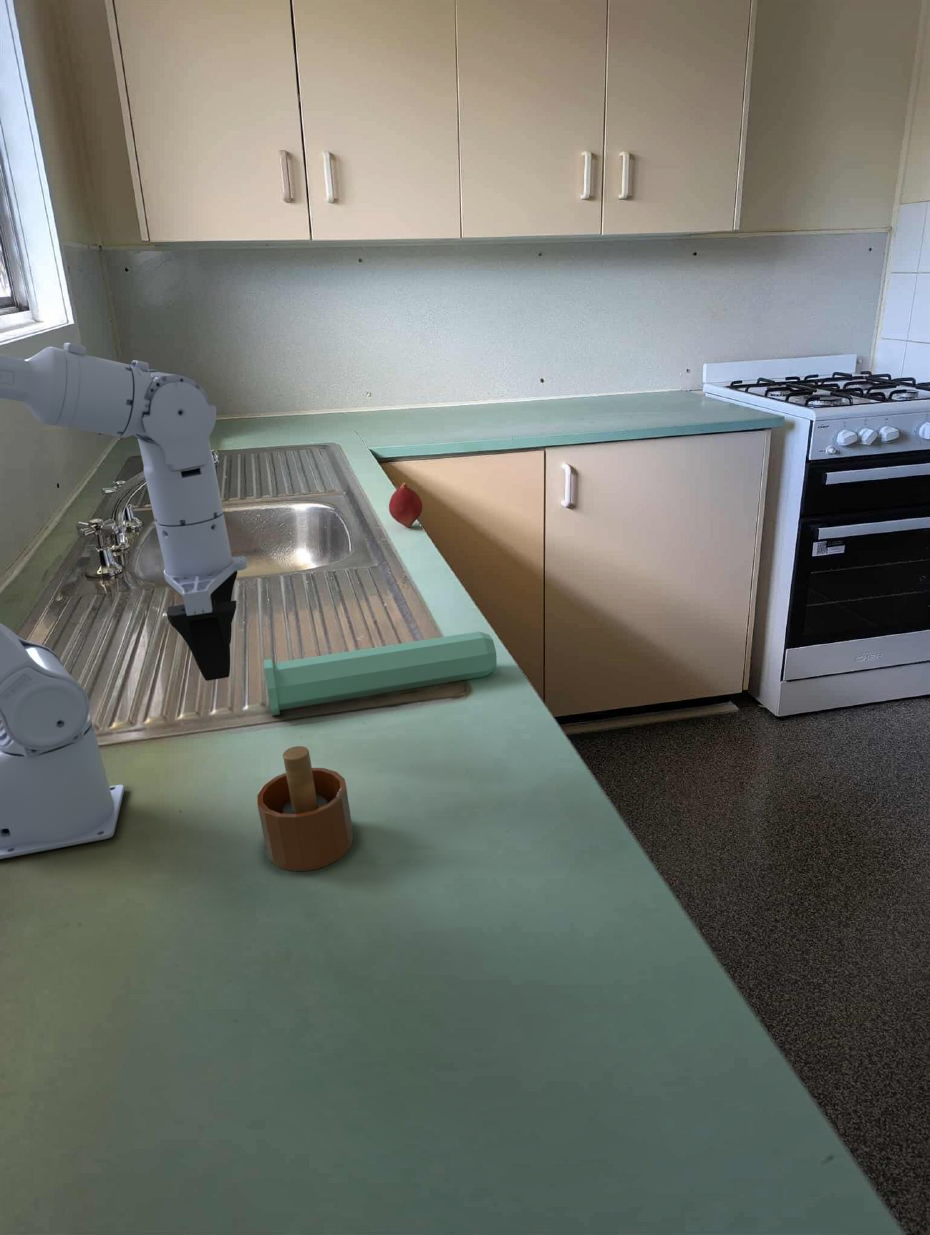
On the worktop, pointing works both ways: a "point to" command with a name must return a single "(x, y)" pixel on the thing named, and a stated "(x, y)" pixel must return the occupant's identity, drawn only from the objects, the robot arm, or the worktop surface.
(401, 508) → the onion
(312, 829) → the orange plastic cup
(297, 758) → the brush
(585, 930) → the worktop surface
